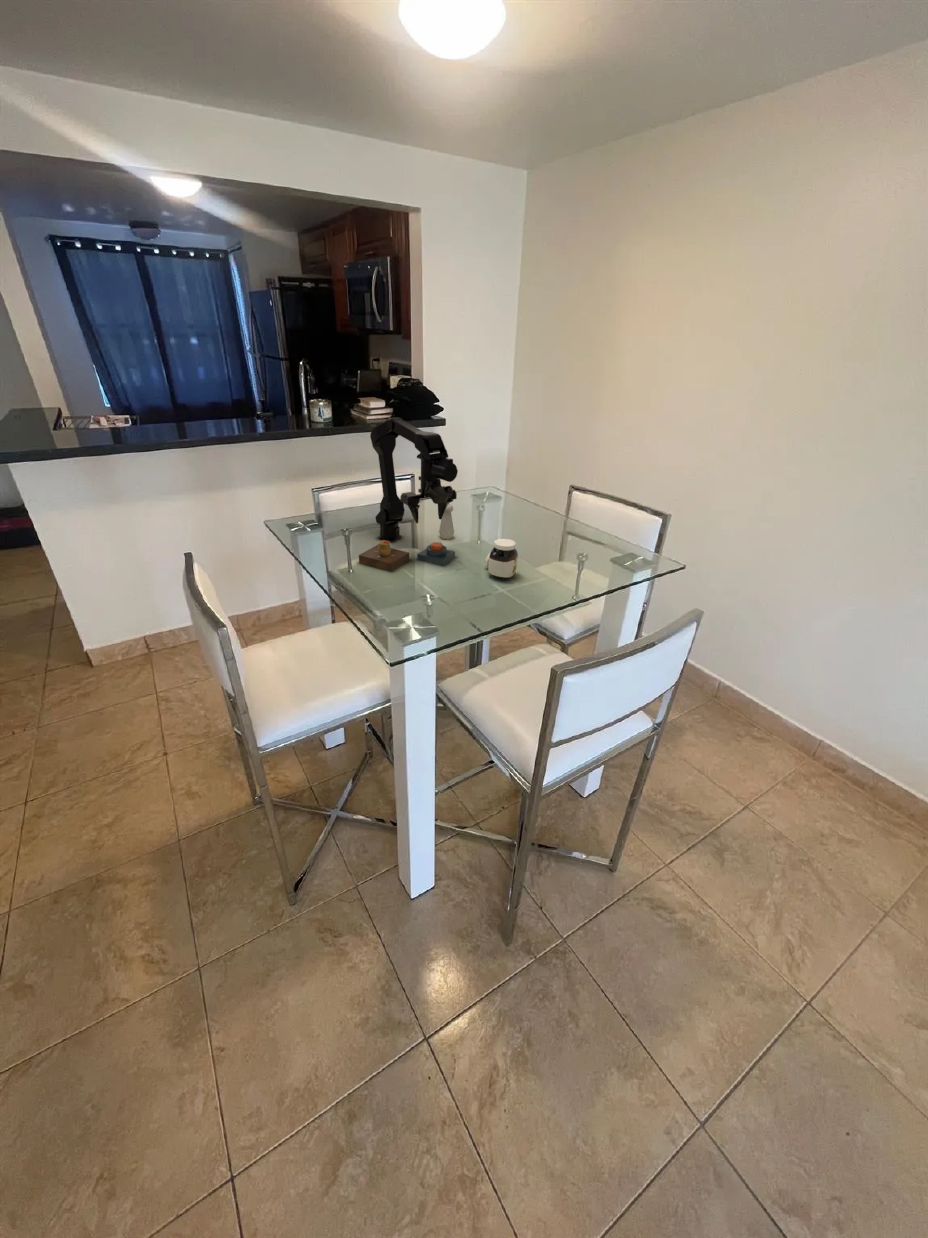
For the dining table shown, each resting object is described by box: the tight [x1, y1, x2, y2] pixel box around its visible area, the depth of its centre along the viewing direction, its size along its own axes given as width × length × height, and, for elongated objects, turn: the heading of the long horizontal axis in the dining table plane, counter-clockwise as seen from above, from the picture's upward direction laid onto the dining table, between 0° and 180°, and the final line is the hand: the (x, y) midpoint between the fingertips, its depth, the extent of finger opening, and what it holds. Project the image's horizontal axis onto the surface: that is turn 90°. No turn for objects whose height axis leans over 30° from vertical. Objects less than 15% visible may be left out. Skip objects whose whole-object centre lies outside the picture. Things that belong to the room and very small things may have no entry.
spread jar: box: [484, 538, 519, 581], centre depth 167 cm, size 12×11×12 cm
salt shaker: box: [438, 503, 455, 541], centre depth 193 cm, size 6×6×13 cm
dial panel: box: [358, 544, 410, 572], centre depth 172 cm, size 13×11×3 cm
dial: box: [377, 539, 391, 556], centre depth 171 cm, size 4×4×4 cm
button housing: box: [417, 544, 456, 567], centre depth 177 cm, size 10×9×4 cm
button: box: [430, 541, 444, 550], centre depth 176 cm, size 4×4×2 cm
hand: (428, 521), depth 173 cm, fingers open, 9 cm apart
